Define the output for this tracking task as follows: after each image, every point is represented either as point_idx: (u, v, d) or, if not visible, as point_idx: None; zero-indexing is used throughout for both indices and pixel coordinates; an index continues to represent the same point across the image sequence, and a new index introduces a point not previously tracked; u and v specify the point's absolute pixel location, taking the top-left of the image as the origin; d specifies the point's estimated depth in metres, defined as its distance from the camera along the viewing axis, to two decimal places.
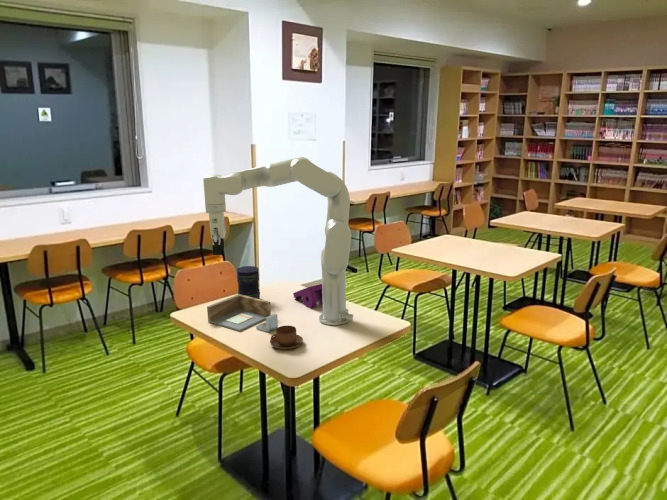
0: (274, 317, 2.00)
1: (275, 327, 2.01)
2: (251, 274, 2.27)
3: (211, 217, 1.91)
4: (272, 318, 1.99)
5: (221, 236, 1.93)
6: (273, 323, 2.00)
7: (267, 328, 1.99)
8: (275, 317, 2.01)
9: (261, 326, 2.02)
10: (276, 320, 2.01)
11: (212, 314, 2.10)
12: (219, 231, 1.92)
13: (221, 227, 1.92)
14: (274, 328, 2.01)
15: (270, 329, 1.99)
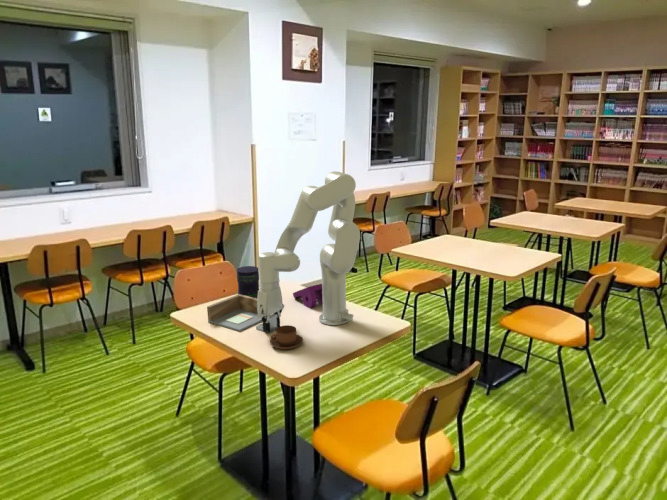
0: (274, 317, 2.00)
1: (275, 327, 2.01)
2: (251, 274, 2.27)
3: None
4: (272, 318, 1.99)
5: None
6: (273, 323, 2.00)
7: None
8: (275, 317, 2.01)
9: (261, 326, 2.02)
10: (276, 320, 2.01)
11: (212, 314, 2.10)
12: None
13: None
14: (274, 328, 2.01)
15: (270, 329, 1.99)
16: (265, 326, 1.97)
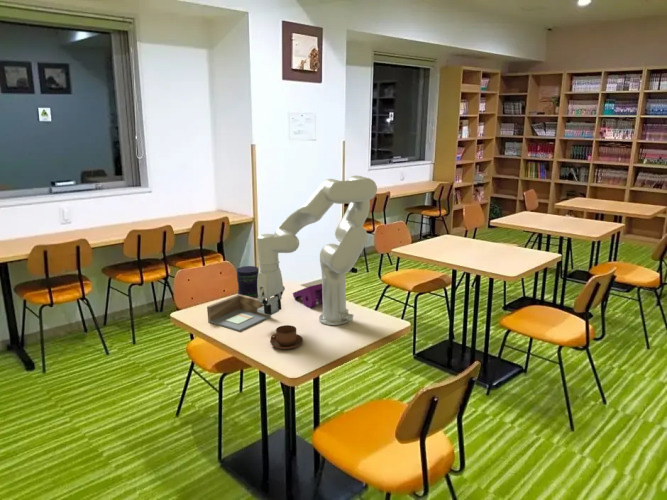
0: (275, 299, 1.99)
1: (276, 309, 2.00)
2: (251, 274, 2.27)
3: None
4: (273, 300, 1.98)
5: None
6: (274, 305, 1.99)
7: None
8: (276, 299, 1.99)
9: (262, 309, 2.01)
10: (277, 302, 2.00)
11: (212, 314, 2.10)
12: None
13: None
14: (275, 310, 1.99)
15: (272, 311, 1.98)
16: (266, 308, 1.96)
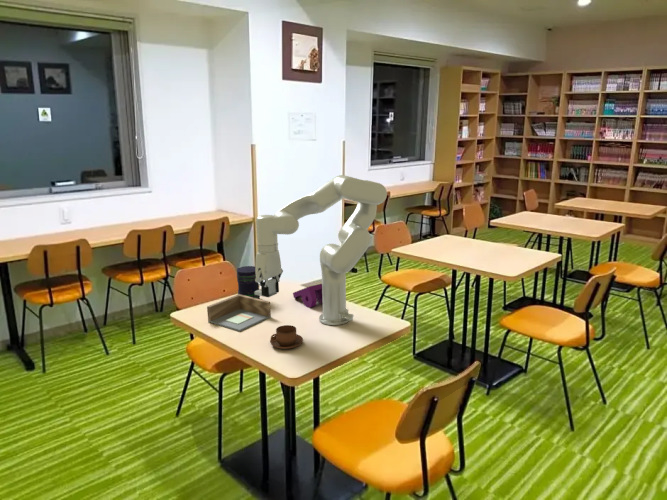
0: (273, 281, 1.97)
1: (274, 292, 1.98)
2: (251, 274, 2.27)
3: None
4: (271, 282, 1.96)
5: None
6: (272, 288, 1.97)
7: None
8: (274, 282, 1.97)
9: (259, 291, 1.99)
10: (275, 285, 1.98)
11: (212, 314, 2.10)
12: None
13: None
14: (273, 293, 1.97)
15: (269, 294, 1.96)
16: (264, 290, 1.94)
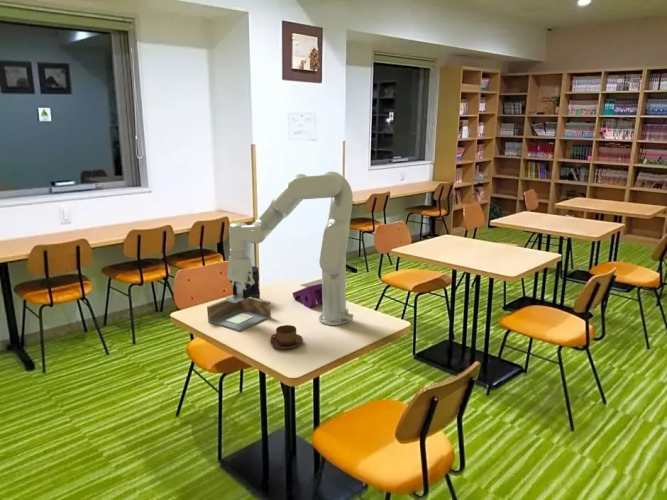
0: None
1: None
2: None
3: None
4: None
5: None
6: None
7: None
8: None
9: (236, 298, 2.06)
10: None
11: (212, 314, 2.10)
12: None
13: None
14: None
15: None
16: (248, 292, 2.08)
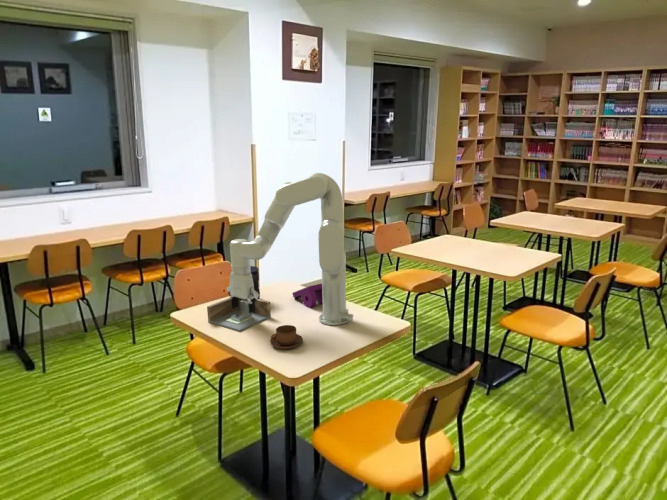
0: None
1: None
2: None
3: None
4: None
5: None
6: None
7: (249, 313, 2.12)
8: None
9: (240, 316, 2.09)
10: None
11: (212, 314, 2.10)
12: None
13: None
14: None
15: None
16: (254, 306, 2.09)
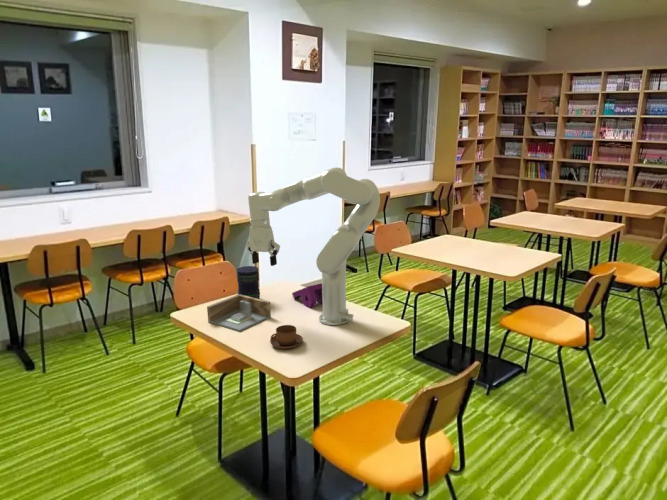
0: None
1: None
2: (251, 274, 2.27)
3: None
4: None
5: None
6: None
7: (249, 313, 2.12)
8: None
9: (240, 316, 2.09)
10: None
11: (212, 314, 2.10)
12: None
13: None
14: None
15: None
16: (275, 259, 2.07)
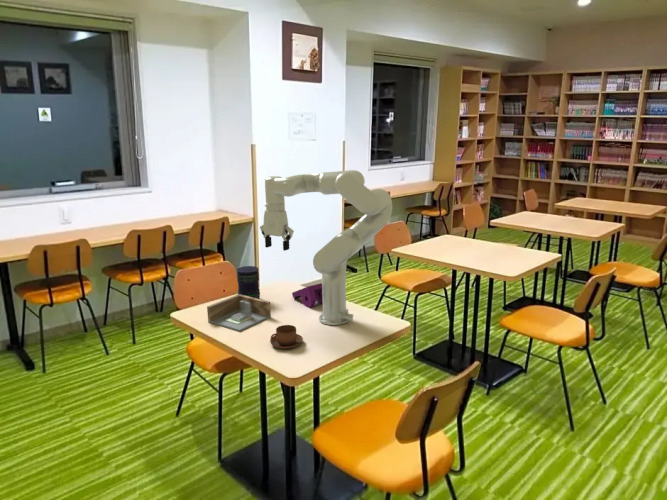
0: None
1: None
2: (251, 274, 2.27)
3: None
4: None
5: None
6: None
7: (249, 313, 2.12)
8: None
9: (240, 316, 2.09)
10: None
11: (212, 314, 2.10)
12: None
13: None
14: None
15: None
16: (288, 244, 2.09)
